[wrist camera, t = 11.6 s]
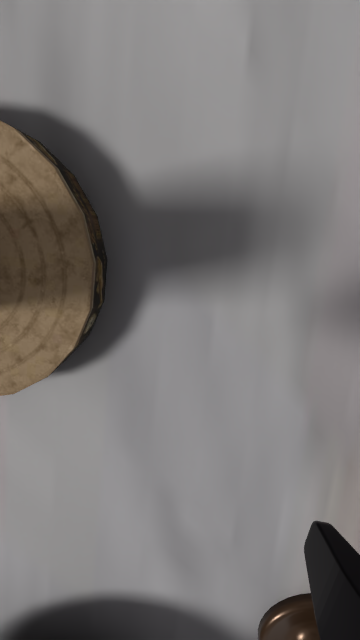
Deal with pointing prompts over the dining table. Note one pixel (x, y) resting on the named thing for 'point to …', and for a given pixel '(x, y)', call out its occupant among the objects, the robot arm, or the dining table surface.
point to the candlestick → (290, 620)
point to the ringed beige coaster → (44, 262)
